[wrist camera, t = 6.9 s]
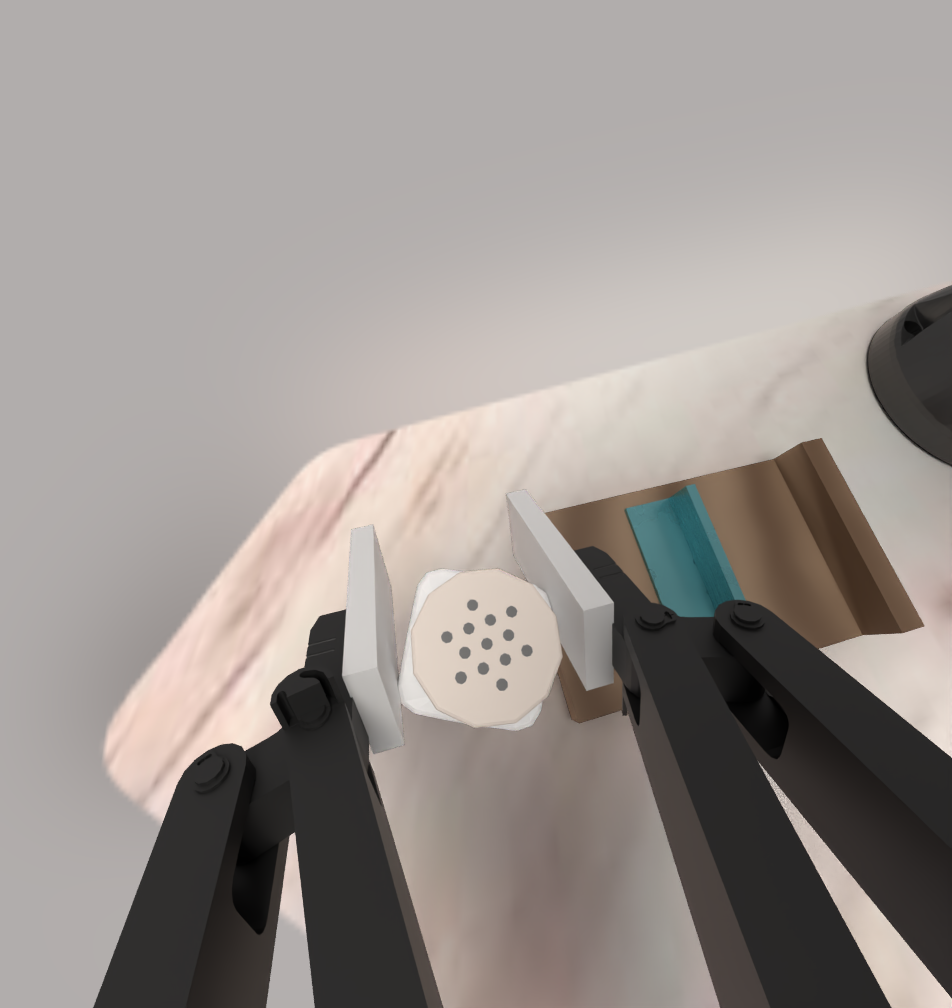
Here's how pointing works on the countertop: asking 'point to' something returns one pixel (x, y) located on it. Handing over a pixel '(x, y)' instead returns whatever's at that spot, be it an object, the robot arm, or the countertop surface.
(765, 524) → the shelf board
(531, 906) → the countertop surface
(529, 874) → the countertop surface
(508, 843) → the countertop surface
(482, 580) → the pepper shaker
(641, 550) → the bookend
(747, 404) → the countertop surface
